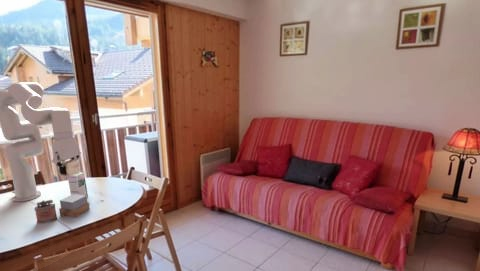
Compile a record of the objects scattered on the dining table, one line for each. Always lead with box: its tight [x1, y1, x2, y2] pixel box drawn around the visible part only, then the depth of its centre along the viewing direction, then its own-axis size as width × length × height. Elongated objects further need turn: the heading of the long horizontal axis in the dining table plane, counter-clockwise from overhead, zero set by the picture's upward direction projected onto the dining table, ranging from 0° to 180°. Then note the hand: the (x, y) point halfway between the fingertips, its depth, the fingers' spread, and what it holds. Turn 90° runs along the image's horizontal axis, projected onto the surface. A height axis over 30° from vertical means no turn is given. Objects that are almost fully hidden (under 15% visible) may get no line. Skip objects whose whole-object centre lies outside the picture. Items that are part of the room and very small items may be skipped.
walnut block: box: [58, 201, 91, 219], centre depth 139 cm, size 9×9×4 cm
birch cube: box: [57, 159, 81, 177], centre depth 134 cm, size 6×6×6 cm
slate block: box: [59, 194, 88, 210], centre depth 138 cm, size 8×8×4 cm
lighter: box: [34, 199, 58, 225], centre depth 131 cm, size 8×3×10 cm, turn 114°
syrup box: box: [67, 171, 89, 198], centre depth 154 cm, size 6×6×14 cm
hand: (69, 171), depth 135 cm, fingers closed on birch cube, 6 cm apart
